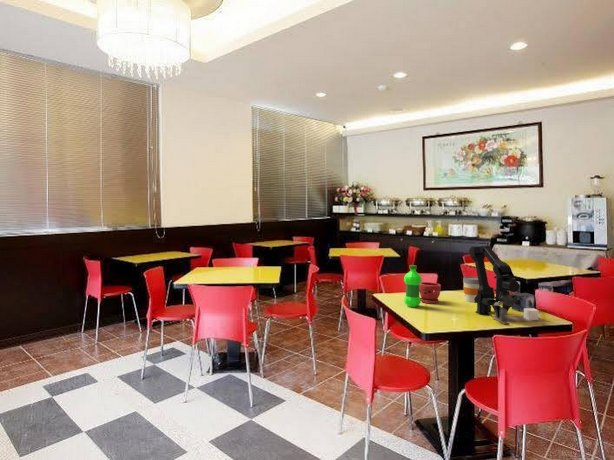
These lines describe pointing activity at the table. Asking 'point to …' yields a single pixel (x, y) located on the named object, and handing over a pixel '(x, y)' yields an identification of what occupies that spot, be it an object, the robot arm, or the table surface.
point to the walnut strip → (512, 317)
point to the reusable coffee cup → (470, 288)
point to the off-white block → (531, 314)
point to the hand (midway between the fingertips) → (501, 317)
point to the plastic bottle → (412, 287)
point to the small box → (524, 301)
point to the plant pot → (429, 292)
